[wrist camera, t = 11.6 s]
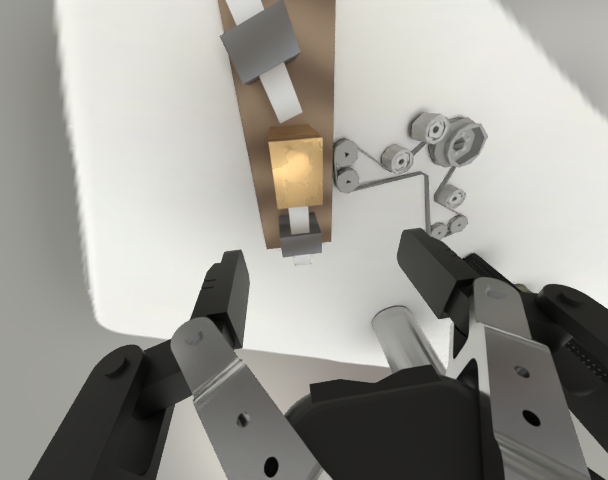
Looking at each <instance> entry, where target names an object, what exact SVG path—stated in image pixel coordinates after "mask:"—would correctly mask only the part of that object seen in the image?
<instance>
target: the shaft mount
mask: <svg viewBox="0 0 608 480" xmlns="http://www.w3.org/2000/svg"><path fill="white" fill-rule="evenodd" d="M335 1H336V0H218V3H219V8H220V13H221V19H222V24H223V29H224V34H223V35H221V36H220V38H221V40H222V42H223V44H224V46H225V48H226V50H227V52H228V54H229V59H230V64H231V69H232V74H233V79H234V85H235V90H236V95H237V100H238V105H239V110H240V115H241V120H242V125H243V130H244V135H245V140H246V145H247V151H248V156H249V161H250V166H251V171H252V176H253V181H254V186H255V191H256V196H257V201H258V206H259V212H260V217H261V222H262V227H263V232H264V237H265V242H266V247H267V249H273V248H282V255H283V257H290V256H294V263H295V266H296V265H304V264H311V254H315V253H322V243H323V242H331V219H332V165H333V110H334V56H335ZM307 124H309V125H310V126H311V127H312V128H313V129H314V130H315V131H316V132H317V133H318V134H319V135H320V136H321V137H323V205H313V206H304V207H295V208H285V209H278V207H277V200H276V192H275V185H274V178H273V171H272V164H271V157H270V149H269V127H282V126H294V125H307Z"/></svg>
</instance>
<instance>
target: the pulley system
mask: <svg viewBox="0 0 608 480" xmlns="http://www.w3.org/2000/svg"><path fill="white" fill-rule="evenodd" d="M487 137H488V136H487V134H486V132H485V130H484V128H483V126H482V124H476V123H475V122H474V121H472V120H471V119H470V118H468V117H466V118H455V119H451V120H448V118H447V117H446V116H444V115H442V114H434V113H422V114H421V115H420V116H419V117H418V118H417V120H416V121H415V122H414V123H413V124H412V135H411V138H412V139H415V140H418V141H422V142H421V143H420V144H419V145H418V146H417V147H416V148H415V149H414V150H413V151H412V152H411V151H409V150H408V149H405V148H403V147H400V146H398V145H393V146H390V147H388V148H387V149H386V151H385V152H384V154H383V155H382V164H380V163H379V162H378V161H376V160H375V159H374V158H372V157H371V156H369V155H368V154H367V153H365V152H364V151H363V150H361V149H360V148H359V147H358V146H357V145H355V144H354V143H353V142H351V141H349V140H348V139H343V140H341V141H339V142H337V143H336V144H335V145H334V147H333V172H334V182H335V186H336V187H337V188H338V190H339V191H340V192H344V193H350V192H352V191H356V190H360V189H364V188H368V187H372V186H376V185H380V184H384V183H388V182H392V181H396V180H400V179H404V178H408V177H412V176H416V175H420V174H423V175H424V179H425V209H426V233H427V234H428V235H429V236H430V237H434V238H436V239H438V240H441V239H442V238H444V237H446V236H449V235H451V234H454V233H456V232H460V231H462V230H463V229H464V228H465V226H466V225H467V224H468V220H467V217H465V216H463V215H461V214H459V213H457V212H455V211H454V210H452V209H455V208H456V207H458V206H459V205H460V204H461V203H462V202H463V201H464V199H465V197H466V193H465V192H464V191H463V190H461V189H458V188H456V187H454V186H452V185H448V184H447V185H446V183H447V182H448V180H449V178H450V177H451V175H452V173H453V172H454V170H455V168H456V167H462V166H465V165H467V164H470V163H471V162H472V161H473V160H474V159H475V158H476V157H477V156H478V155H479V154H480V152H481V150H482V148H483V146H484V144H485V142H486V139H487ZM426 143H430V144H429V151H430V156H431V158H432V159H433V160H434V161H435V164H438V165H441V166H443V167H449V166H452V168H451V169H450V171H449V172H448V174H447V175H446V177H445V179H444V180H443V182H442V183H441V185H440V186H439V188H438V190H437V191H436V193H435V194H434V201H435V202H437V203H439V204H441V205H442V206H444V207H446V208H448V209H450V210H452V211H453V212H455V213H457V214H459V216H455V217H454V218H452V219H451V220H450V221H449V223H448V225H447V226H446V225H443V224H442V223H435V224H434V225H432V226H431V225H430V203H429V181H428V175H426V174H424V173H422V172H416V173H411V174H407V175H403V176H399V177H395V178H390V179H386V180H382V181H378V182H373V183H369V184H365V185H361V186H358V183H359V177H358V175H357V173H356V171H353V169H351V168H345V169H343V170H341V171H340V172H338V173H337V170H336V163H337V164H338V165H339V166H340V167H344V166H349V165H352V164H353V163H354V162H355V161H356V160H357V159H358V149H360V150H361V151H362V152H364V153H365V154H366V155H368V156H369V157H370V158H372V159H373V160H374V161H376V162H377V163H379V164H380V165H381V166H382V167H384V168H385V169H386V170H388V171H389V172H393V173H395V174H396V175H399V174H401V173H404V172H406V171H408V170H409V169H410V167H411V166H412V165H413V156H414V155H415V154H416V153H417V152H418V151H419V150H420V149H421V148H422V147H423V146H424V145H425V144H426ZM387 168H388V169H387ZM460 215H461V216H460ZM447 228H448V229H449V230H450V231H449V232H447Z"/></svg>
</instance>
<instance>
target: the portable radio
mask: <svg viewBox="0 0 608 480" xmlns="http://www.w3.org/2000/svg"><path fill="white" fill-rule="evenodd" d="M464 261H465V262H466V263H467V264H468V265H469V266H470V267H472V268H473V269H474V270H475V271H476V272H477V273H478V274H479V275H481V276H482V277H489V278H494V279H498V280H500V281H503V282H505V283H507V284H509V285H510V286H512V287H513V288H514V289H515V290H516V291H518V292H522V291H521V290H520V289H519V288H517V287H516V286H515V285H514V284H512V283H511V282H510V281H509V280H507V279H506V278H505V277H504V276H503V275H501V274H500V273H499V272H498V271H496V270H495V269H494V268H493V267H492V266H490V265H489V264H488V263H487V262H486V261H484V260H483V259H482V258H481V257H479V256H478V255H477V254H472V255H470V256H469V257H467V258H466V259H465V260H464ZM564 346H565V347H566V348H567V349H568V350H569V351H571V352H572V353H573V354H574V355H575V356H576V357H577V358H578V359H579V360H580V361H581V362H582V363H583V364H585V365H586V366H587V367H588V368H589V369H590V370H591V371H592V372H593V373H594V374H595V375H596V376H597V377H599V378H600V379H601V380H602V381H603V382H604V383H605V384H607V383H608V368H607V367H606V365H605V364H604V363H603V362H601V361H600V360H599V359H598V358H597V357H596V356H595V355H593V354H592V353H591V352H590V351H589V350H588V349H586V348H585V347H584V346H583V345H582V344H581V343H580V342H578V341H577V340H576V339H575V338H574V337H573V338H571V339H570V340H569V341H568V342H567V343H566V344H565V345H564Z"/></svg>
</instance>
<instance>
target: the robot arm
mask: <svg viewBox="0 0 608 480" xmlns="http://www.w3.org/2000/svg"><path fill="white" fill-rule="evenodd" d="M397 261H398V264H399V266H400V267H401V269H402V270H403V271H404V273H405V274H406V275H407V277H408V278H409V280H410V281H411V282H412V284H413V285H414V286H415V288H416V289H417V291H418V292H419V293H420V295H421V296H422V297H423V299H424V300H425V302H426V303H427V304H428V306H429V307H430V308H431V310H432V311H433V312H434V314H435V315H436V317H437V318H438V319H443V318H449V317H450V319H451V320H452V323H451V326H450V343H449V362H448V368H447V370H446V368H445V367H444V365H443V363H442V362H441V360H440V359H439V357H438V355H437V354H436V352H435V351H434V349H433V347H432V346H431V344H430V342H429V341H428V339H427V338H426V336H425V334H424V333H423V331H422V330H421V328H420V326H419V325H418V323H417V321H416V320H415V318H414V317H413V315H412V313H411V312H410V310H409V309H407V308H405V307H392V308H388V309H386V310H384V311H382V312H380V313H379V314H378V315H376V316H375V318H374V319H373V321H372V326H373V328H374V330H375V333H376V335H377V338H378V340H379V342H380V345H381V347H382V349H383V352H384V354H385V356H386V359H387V361H388V364H389V366H390V368H391V370H392V373H393V374H392V375H390V376H388V377H386V378H384V379H382V380H380V381H379V382H377V383H368V382H359V381H351V380H343V379H338V380H332V381H326V382H321V383H314V384H310V394H308V395H306V396H304V397H303V398H301V399H300V400H299V401H297V402H296V403H295V404H294V405H293V406H292V407H290V409H289V410H288V411H287V412H286V413H285V415H283V414H282V412H281V411H280V410H279V408H278V407H277V406H276V404H275V403H274V401H273V400H272V399H271V397H270V396H269V395H268V393H267V392H266V391H265V389H264V388H263V387H262V385H261V384H260V382H259V381H258V380H257V378H256V377H255V376H254V374H253V373H252V372H251V370H250V369H249V368H248V367H247V365H246V364H245V362H244V361H243V360H240V359H239V357H238V356H237V355H236V353H235V352H234V349H240V348H242V347H243V338H244V329H245V320H246V312H247V303H248V294H249V285H250V281H249V273H248V270H247V266H246V263H245V259H244V256H243V253H242V250H234V251H226V252H224V254H223V258H222V261H221V263H215V264H214V265H213V266H212V267H211V268H210V269H209V270H208V271H207V273H206V276H205V279H204V282H203V285H202V287H201V290H200V293H199V296H198V299H197V301H196V304H195V307H194V310H193V313H192V316H191V318H190V320H189V321H187V322H185V323H184V324H183V325H181V326H180V327H179V328H178V329H177V330H176V332H175V333H174V335H173V337H172V338H171V339H170V340H168V341H166V342H163V343H161V344H158V345H156V346H154V347H151V348H149V349H147V350H144V351H143V350H142V349H141V348H140V347H139V346H137V345H126V346H123V347H120V348H118V349H116V350H114V351H112V352H110V353H109V354H108V355H106V356H105V357H104V358H103V359H102V360H101V361H100V362H99V363H98V364H97V365H96V366H95V367H94V369H93V371H92V372H91V373H90V375H89V377H88V379H87V380H86V382H85V384H84V385H83V387H82V389H81V391H80V392H79V394H78V396H77V397H76V399H75V401H74V403H73V404H72V406H71V408H70V409H69V411H68V413H67V414H66V416H65V418H64V420H63V421H62V423H61V425H60V427H59V428H58V430H57V432H56V433H55V435H54V437H53V438H52V440H51V442H50V444H49V445H48V447H47V449H46V450H45V452H44V454H43V456H42V457H41V459H40V461H39V462H38V464H37V466H36V468H35V470H34V471H33V473H32V474H31V476H30V478H29V479H28V480H156V477H157V473H158V469H159V465H160V461H161V457H162V453H163V449H164V445H165V442H166V438H167V433H168V430H169V426H170V421H171V418H172V414H173V410H174V407H175V404H176V403H178V402H180V401H182V400H184V399H186V398H188V397H190V396H191V395H193V396H194V400H193V403H194V406H195V409H196V411H197V413H198V416H199V418H200V420H201V422H202V424H203V426H204V429H205V431H206V433H207V435H208V437H209V440H210V442H211V444H212V446H213V448H214V450H215V453H216V455H217V457H218V459H219V461H220V463H221V466H222V468H223V470H224V472H225V474H226V477H227V479H228V480H605V479H604V478H602V477H601V476H599V475H598V474H597V473H595V472H594V471H592V470H591V469H589V468H588V467H587V466H586V463H585V459H584V456H583V453H582V450H581V447H580V443H579V440H578V437H577V434H576V431H575V428H574V424H573V421H572V418H571V416H570V412H569V410H571V412H572V413H573V414H574V415H575V416H576V418H577V419H579V421H580V422H581V423H582V424H583V426H584V427H585V428H586V429H587V430H588V431H589V432H590V434H591V435H592V436H593V437H594V438H595V439H596V440H597V441H598V443H599V444H600V445H601V446H602V447H603V448H604V450H605V451H606V452H607V453H608V383H607V384H605V383H604V382H603V381H602V380H601V379H600V378H599V377H597V376H596V375H595V374H594V373H593V372H592V371H591V370H590V369H589V368H588V367H587V366H586V365H585V364H583V363H582V362H581V361H580V360H579V359H578V358H577V357H576V356H575V355H574V354H573V353H572V352H571V351H569V350H568V349H567V348H566V347H565V346H564V345H565V344H566V343H567V342H568V341H569V340H570V339H571V338H573V337H574V338H575V339H576V340H577V341H578V342H580V343H581V344H582V345H583V346H584V347H585V348H586V349H588V350H589V351H590V352H591V353H592V354H593V355H595V356H596V357H597V358H598V359H599V360H600V361H601V362H603V363H604V364H605V365H606V367H607V368H608V309H607V308H605V307H604V306H602V305H601V304H599V303H598V302H597V301H595V300H594V299H592V298H591V297H589V296H588V295H586V294H584V293H582V292H580V291H578V290H576V289H573V288H571V287H568V286H564V285H559V284H549V285H546V286H544V287H543V289H542V290H541V291H540V292H539V293H538V294H537V293H528V292H518V291H516V290H515V289H514V288H513V287H512V286H510V285H509V284H507V283H505V282H503V281H500V280H498V279H494V278H489V277H482V276H481V275H479V274H478V273H477V272H476V271H475V270H474V269H473V268H472V267H470V266H469V265H468V264H467V263H466V262H465V261H464V260H463V259H461V258H460V257H459V256H457V254H456V253H455V252H454V251H452V250H451V249H450V248H449V247H448V246H447V245H446V244H445V243H443V242H442V241H440V240H438V239H436V238H434V237H430V236H429V235H428V234H427V233H426V232H425V231H424V230H423V229H421V228H416V229H408V230H404V231H403V232H402V235H401V240H400V244H399V248H398V252H397Z"/></svg>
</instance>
